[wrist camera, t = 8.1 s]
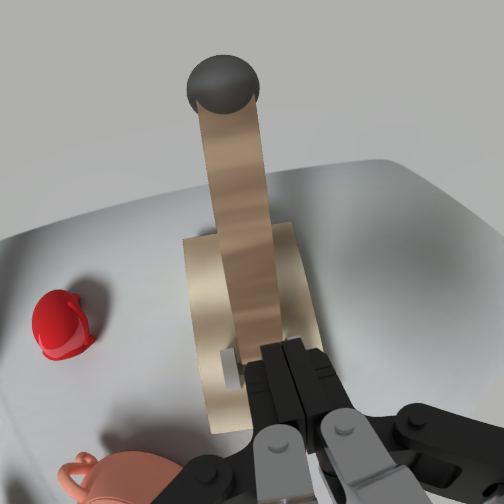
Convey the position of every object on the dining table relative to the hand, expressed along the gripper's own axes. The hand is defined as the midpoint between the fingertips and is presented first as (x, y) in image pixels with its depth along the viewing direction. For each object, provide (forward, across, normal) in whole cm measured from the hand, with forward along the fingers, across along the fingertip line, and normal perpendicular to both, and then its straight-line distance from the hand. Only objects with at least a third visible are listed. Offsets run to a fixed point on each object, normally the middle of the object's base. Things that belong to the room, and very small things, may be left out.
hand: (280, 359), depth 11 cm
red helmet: (+16, +18, +7) cm, 25 cm away
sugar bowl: (+4, +13, +20) cm, 24 cm away
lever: (+9, 0, +7) cm, 11 cm away
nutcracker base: (+14, 0, +9) cm, 17 cm away
